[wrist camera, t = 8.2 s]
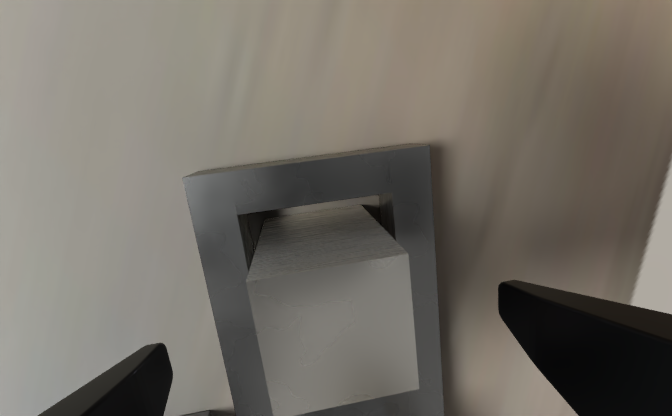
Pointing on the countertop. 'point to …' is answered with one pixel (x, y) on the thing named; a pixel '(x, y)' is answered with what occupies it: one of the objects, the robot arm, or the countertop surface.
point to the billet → (332, 310)
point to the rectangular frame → (303, 189)
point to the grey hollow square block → (200, 414)
